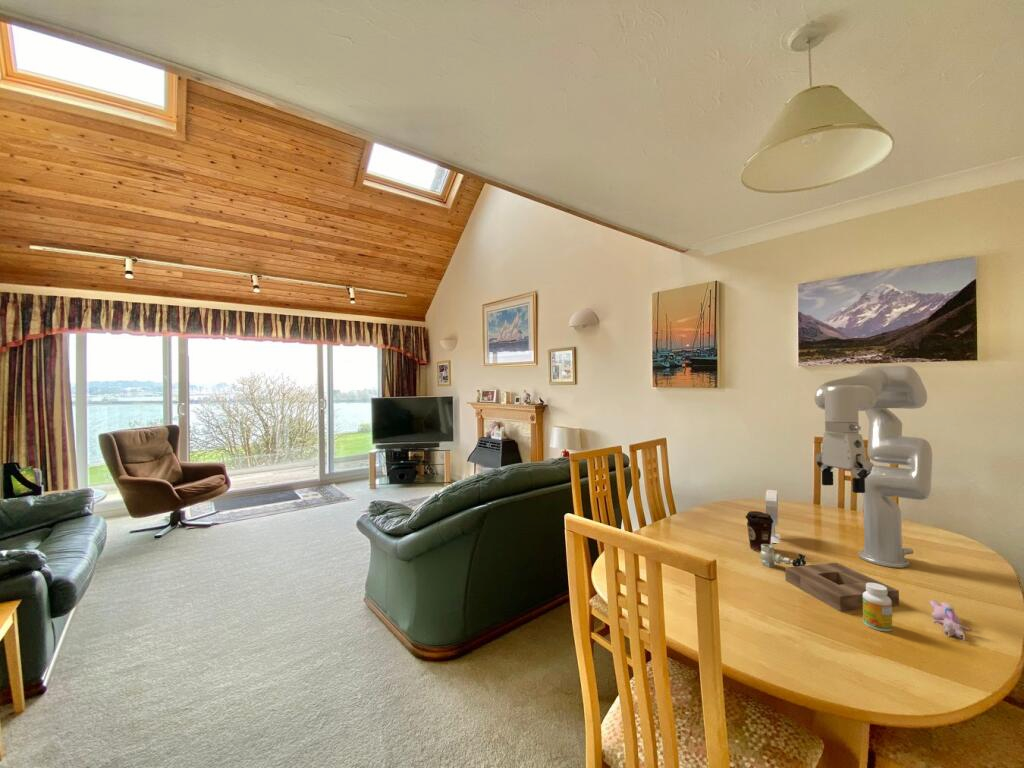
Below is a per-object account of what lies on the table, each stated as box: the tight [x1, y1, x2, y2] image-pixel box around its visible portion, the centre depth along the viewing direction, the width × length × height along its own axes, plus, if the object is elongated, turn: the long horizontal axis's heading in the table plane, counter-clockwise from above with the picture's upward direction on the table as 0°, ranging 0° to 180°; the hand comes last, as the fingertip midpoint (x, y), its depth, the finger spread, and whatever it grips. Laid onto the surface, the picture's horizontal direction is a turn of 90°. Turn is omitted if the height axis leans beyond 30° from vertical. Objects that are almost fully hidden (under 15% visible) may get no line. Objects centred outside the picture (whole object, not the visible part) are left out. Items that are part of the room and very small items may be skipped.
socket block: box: [784, 562, 900, 613], centre depth 118 cm, size 18×18×4 cm
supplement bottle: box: [862, 583, 893, 632], centre depth 102 cm, size 5×5×10 cm
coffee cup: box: [745, 510, 773, 553], centre depth 150 cm, size 9×8×13 cm
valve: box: [759, 544, 807, 569], centre depth 134 cm, size 7×7×12 cm
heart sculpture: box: [765, 489, 781, 544], centre depth 161 cm, size 16×5×18 cm, turn 146°
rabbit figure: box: [929, 599, 971, 643], centre depth 101 cm, size 6×6×15 cm
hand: (842, 488), depth 118 cm, fingers open, 9 cm apart
